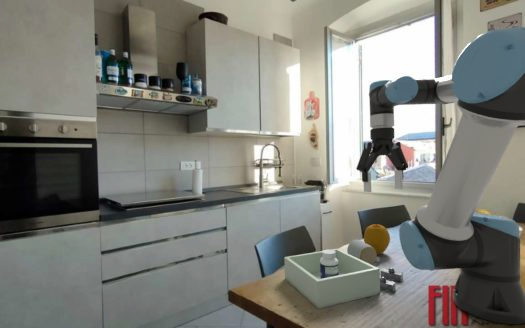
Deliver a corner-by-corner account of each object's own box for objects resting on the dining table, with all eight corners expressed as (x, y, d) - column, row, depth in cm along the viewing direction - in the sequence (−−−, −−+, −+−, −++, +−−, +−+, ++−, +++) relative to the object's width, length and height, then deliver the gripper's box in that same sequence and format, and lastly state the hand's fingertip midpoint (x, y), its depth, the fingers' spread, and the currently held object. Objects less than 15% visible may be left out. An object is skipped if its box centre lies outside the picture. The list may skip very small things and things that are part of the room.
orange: (392, 258, 107) (391, 227, 107) (365, 257, 110) (364, 226, 109) (388, 250, 116) (387, 221, 116) (363, 249, 119) (362, 221, 119)
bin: (380, 293, 80) (379, 268, 80) (318, 308, 73) (317, 281, 73) (337, 268, 99) (337, 248, 99) (285, 278, 92) (284, 257, 92)
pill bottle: (320, 279, 89) (319, 248, 89) (337, 280, 88) (336, 248, 88) (321, 287, 84) (320, 254, 84) (340, 288, 83) (339, 254, 83)
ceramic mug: (361, 268, 99) (360, 246, 98) (346, 260, 106) (346, 240, 106) (386, 264, 102) (385, 243, 102) (370, 257, 110) (370, 237, 110)
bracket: (383, 274, 93) (382, 264, 93) (403, 279, 89) (402, 268, 89) (371, 286, 85) (371, 275, 84) (393, 292, 81) (392, 280, 81)
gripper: (401, 129, 105) (402, 187, 105) (344, 128, 96) (346, 191, 96) (418, 127, 98) (420, 188, 98) (359, 126, 89) (361, 194, 89)
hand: (383, 190), depth 97 cm, fingers open, 13 cm apart
